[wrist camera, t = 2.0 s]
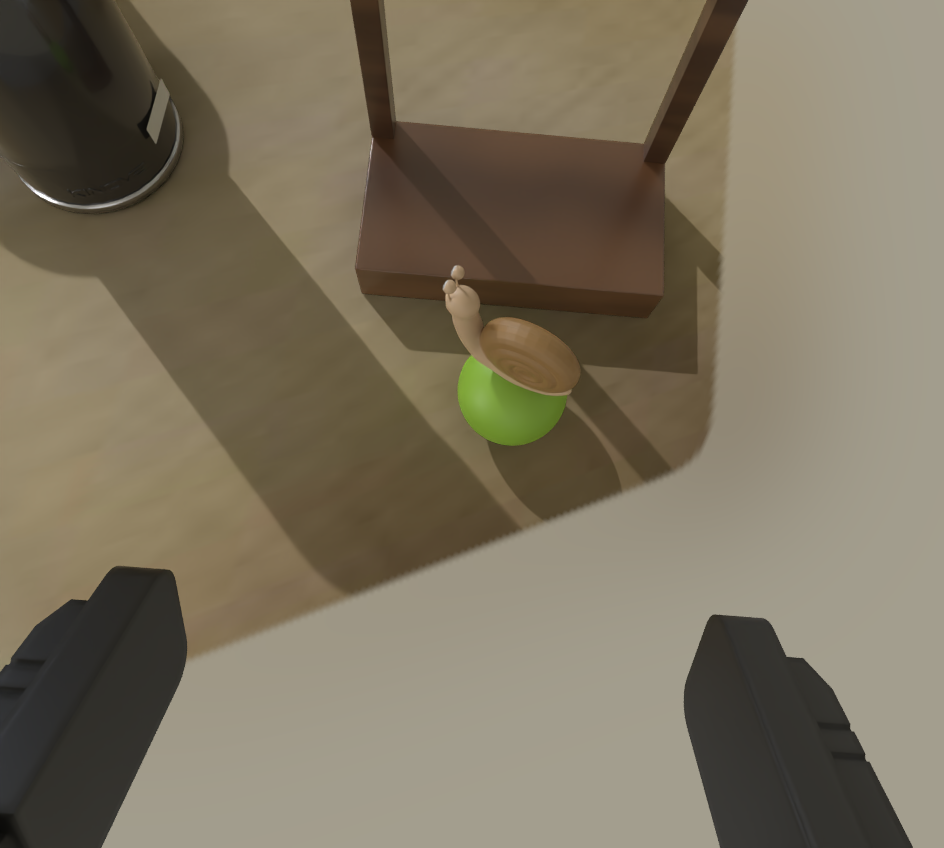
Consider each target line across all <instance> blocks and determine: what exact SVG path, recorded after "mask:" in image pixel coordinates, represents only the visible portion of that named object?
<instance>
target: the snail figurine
mask: <svg viewBox="0 0 944 848" xmlns="http://www.w3.org/2000/svg"><path fill="white" fill-rule="evenodd" d="M464 274H465V271H464V269H463V267H461V266H459V265H456V266H454V268H453V269H452V271H451V276H452V278H453V279H455V281H456V283H455V282H454V281H453V280H447V281H446V282H445V283H444V285H443V291H444V292H445V293H446V296H445V300H446V308H447V310H448V311H449V312H450V313H451V314H452V319H453V324H454V327H455V329H456V332H457V334H458V336H459V338H460V340H461V341H462V343H463V345H464V346H465V347H466V349H467V350H468V351H469V353H470V354H471V356H470V357H469V358H468V360H467V361H466V363H465V364H464V366H463V369H462V371H461V374H460V377H459V382H458V400H459V405H460V408H461V411H462V413H463V415H464V417H465V419H466V421H467V422H468V424H469V425H470V426H471V427H472V428H473V429H474V430H475V431H476V432H477V433H478V434H479V435H481V436H482V437H484V438H485V439H487V440H489V441H492V442H494V443H497V444H502V445H510V446H515V445H523V444H527V443H530V442H533V441H535V440H537V439H539V438H541V437H543V436H544V435H545V434H547V433H548V432H549V431H550V430H551V429H552V428H553V427H554V426H555V425H556V423H557V422H558V420H559V419H560V417H561V415H562V413H563V411H564V408H565V405H566V400H567V395H568V394H570V393H571V391H572V388H573V387H575V385H576V384H577V383H578V381H579V378H580V365H579V362H578V360H577V358H576V356H575V355H574V353H573V352H572V351H571V349H570V348H569V347H568V346H567V345H566V344H565V343H564V342H563V341H561V340H560V339H559V338H558V337H556V336H555V335H554V334H552V333H550V332H549V331H547V330H545V329H544V328H542V327H540V326H538V325H536V324H533V323H531V322H528V321H525V320H522V319H518V318H512V317H500V318H496V319H494V320H492V321H490V322H489V323H488V324H486V326H485V327H484V326H483V322H482V319H481V317H480V314H479V312H478V311H479V308H480V299H479V297H478V295H477V293H476V292H475V291H474V290H473V289H472V288H470V287H468V286H465V285H459V284H458V281H457V280H460V279H462V278H463V277H464Z"/></svg>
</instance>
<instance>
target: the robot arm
mask: <svg viewBox="0 0 944 848" xmlns="http://www.w3.org/2000/svg"><path fill="white" fill-rule="evenodd" d="M182 146H183V126H182V121H181V118H180V115H179V112H178V110H177V108H176V107H175V105H174V103H173V101H172V99H171V98H170V93H169V92H168V90H167V88H166V86H165V84H164V82H163V81H162V79H160V81H159V79H158V78H157V76H156V74H155V72H154V70H153V69H152V67H151V65H150V63H149V61H148V59H147V57H146V55H145V54H144V52H143V50H142V48H141V46H140V45H139V43H138V41H137V39H136V37H135V36H134V34H133V32H132V30H131V28H130V26H129V25H128V23H127V21H126V19H125V17H124V16H123V14H122V12H121V10H120V8H119V7H118V5H117V3H116V1H115V0H0V157H1V158H2V159H3V160H4V161H5V162H6V163H7V164H8V165H9V166H10V167H11V168H12V169H13V170H14V171H15V172H16V173H17V174H18V176H19V177H20V178H21V180H22V181H23V182H24V183H25V184H26V185H27V186H28V187H29V188H30V189H31V190H32V191H33V192H34V193H35V194H36V195H37V196H38V197H40V198H41V199H42V200H44V201H45V202H47V203H49V204H51V205H53V206H55V207H57V208H60V209H63V210H66V211H70V212H76V213H84V214H97V213H106V212H112V211H116V210H120V209H123V208H126V207H128V206H131V205H133V204H135V203H137V202H139V201H141V200H143V199H144V198H146V197H147V196H149V195H150V194H152V193H153V192H154V191H155V190H157V189H158V188H159V187H160V186H161V185H162V184H163V183H164V182H165V181H166V179H167V178H168V177H169V175H170V174H171V173H172V171H173V169H174V168H175V166H176V164H177V162H178V160H179V157H180V154H181V150H182ZM186 656H187V639H186V633H185V628H184V623H183V618H182V612H181V607H180V602H179V596H178V591H177V586H176V581H175V577H174V575H173V573H172V572H171V571H170V570H165V569H152V568H139V567H127V566H116V567H114V568H112V569H111V570H110V571H109V572H108V573H107V574H106V576H105V577H104V579H103V580H102V581H101V583H100V584H99V586H98V587H97V588H96V590H95V591H94V593H93V594H92V596H91V597H90V598H89V600H88V601H86V600H73V599H71V600H70V601H68V602H67V603H66V604H64V605H63V606H62V607H60V608H59V609H58V610H56V611H55V612H54V613H52V614H51V615H50V616H48V617H47V618H45V619H44V620H43V621H41V622H40V623H39V624H37V625H36V626H35V627H34V629H33V630H32V631H31V633H30V634H29V635H28V637H27V638H26V639H25V640H24V642H23V643H22V644H21V646H20V647H19V648H18V650H17V651H16V652H15V654H14V655H13V656H12V658H11V663H10V664H9V665H5V667H4V668H3V669H2V671H1V672H0V848H101V847H102V845H103V843H104V841H105V839H106V837H107V834H108V832H109V830H110V828H111V826H112V824H113V822H114V820H115V818H116V816H117V813H118V811H119V809H120V807H121V805H122V803H123V801H124V799H125V797H126V795H127V792H128V790H129V788H130V786H131V784H132V782H133V780H134V778H135V776H136V774H137V771H138V769H139V767H140V765H141V763H142V761H143V759H144V757H145V755H146V752H147V750H148V748H149V746H150V744H151V742H152V740H153V737H154V736H155V734H156V731H157V729H158V727H159V725H160V723H161V721H162V719H163V717H164V715H165V713H166V710H167V708H168V706H169V704H170V702H171V700H172V698H173V696H174V694H175V692H176V689H177V687H178V685H179V683H180V680H181V677H182V674H183V671H184V667H185V662H186ZM684 712H685V719H686V724H687V728H688V732H689V736H690V739H691V743H692V746H693V750H694V754H695V757H696V761H697V765H698V768H699V772H700V775H701V779H702V783H703V786H704V790H705V794H706V797H707V801H708V804H709V808H710V812H711V815H712V819H713V822H714V826H715V830H716V834H717V837H718V841H719V845H720V848H913V847H912V845H911V843H910V841H909V839H908V837H907V835H906V833H905V831H904V829H903V827H902V825H901V823H900V821H899V819H898V817H897V815H896V813H895V811H894V809H893V807H892V805H891V803H890V801H889V799H888V797H887V796H886V793H885V792H884V790H883V788H882V786H881V784H880V782H879V780H878V778H877V776H876V774H875V772H874V770H873V768H872V766H871V764H870V762H867V761H866V760H865V752H864V750H863V748H862V746H861V744H860V742H859V740H858V739H857V736H856V735H855V733H854V732H851V730H850V723H849V721H848V719H847V717H846V715H845V713H844V711H843V709H842V707H841V705H840V703H839V701H838V699H837V697H836V695H835V693H834V691H833V689H832V688H831V687H830V686H829V685H828V684H827V683H826V682H825V681H824V680H823V679H822V678H821V677H820V676H819V675H818V673H817V672H816V671H815V670H814V669H813V668H812V667H811V666H810V665H809V664H808V663H807V662H806V661H805V660H804V659H803V658H792V657H786V655H785V653H784V650H783V648H782V646H781V644H780V642H779V640H778V637H777V635H776V633H775V631H774V629H773V627H772V625H771V624H770V623H769V622H768V621H767V620H766V619H763V618H751V617H739V616H726V615H712V616H711V617H710V618H709V620H708V622H707V624H706V627H705V629H704V632H703V635H702V638H701V641H700V643H699V646H698V649H697V652H696V655H695V657H694V660H693V663H692V666H691V669H690V671H689V674H688V677H687V680H686V684H685V690H684Z"/></svg>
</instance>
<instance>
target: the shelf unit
mask: <svg viewBox="0 0 944 848" xmlns="http://www.w3.org/2000/svg"><path fill="white" fill-rule="evenodd" d="M350 2H351V9H352V15H353V21H354V28H355V34H356V40H357V46H358V53H359V59H360V65H361V72H362V78H363V84H364V91H365V97H366V103H367V109H368V116H369V122H370V128H371V135H372V141H371V149H370V157H369V165H368V172H367V180H366V188H365V195H364V203H363V211H362V219H361V226H360V234H359V242H358V249H357V257H356V265H355V270H356V273H357V277H358V281H359V284H360V288H361V292H362V293H363V294H374V295H385V296H397V297H409V298H420V299H432V300H443V301H446V300H445V296H446V293H445V292H444V291H443V285H444V283H445V282H446V281H447V280H453V281H454V282H455V283H456V281H455V279H453V278H452V276H451V271H452V269H453V268H454V266H456V265H459V266H461V267H463V269H464V271H465V274H464V277H463V278H462V279H460V280H457V281H458V284H459V285H465V286H468V287H470V288H472V289H473V290H474V291H475V292H476V293H477V295H478V297H479V299H480V304H490V305H501V306H513V307H525V308H536V309H548V310H559V311H571V312H582V313H594V314H606V315H617V316H629V317H640V318H648V317H649V315H650V314H651V312H652V311H653V310H654V308H655V307H656V306H657V304H658V303H659V301H660V300H661V299H662V297H663V296H664V199H665V163H666V161H667V159H668V157H669V155H670V153H671V151H672V149H673V147H674V145H675V143H676V141H677V139H678V137H679V135H680V133H681V131H682V129H683V127H684V125H685V124H686V122H687V120H688V118H689V116H690V114H691V112H692V110H693V108H694V106H695V104H696V102H697V100H698V98H699V96H700V94H701V92H702V90H703V88H704V86H705V84H706V82H707V80H708V78H709V76H710V74H711V72H712V70H713V69H714V67H715V65H716V63H717V61H718V59H719V57H720V55H721V53H722V51H723V49H724V47H725V45H726V43H727V41H728V39H729V37H730V35H731V33H732V31H733V29H734V27H735V25H736V23H737V21H738V19H739V17H740V15H741V14H742V12H743V10H744V8H745V6H746V4H747V2H748V0H707V1H706V3H705V6H704V8H703V10H702V12H701V15H700V17H699V19H698V22H697V24H696V26H695V28H694V31H693V33H692V35H691V38H690V40H689V42H688V44H687V47H686V49H685V51H684V53H683V56H682V58H681V60H680V63H679V65H678V67H677V69H676V72H675V74H674V76H673V78H672V81H671V83H670V85H669V88H668V90H667V92H666V94H665V97H664V99H663V101H662V103H661V106H660V108H659V110H658V113H657V115H656V117H655V119H654V122H653V124H652V126H651V128H650V131H649V133H648V135H647V138H646V140H645V142H644V144H639V143H629V142H618V141H607V140H596V139H585V138H574V137H563V136H552V135H541V134H530V133H519V132H508V131H497V130H486V129H475V128H464V127H453V126H442V125H431V124H420V123H409V122H398V121H396V116H395V107H394V97H393V87H392V77H391V68H390V58H389V48H388V38H387V29H386V19H385V9H384V0H350Z"/></svg>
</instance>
